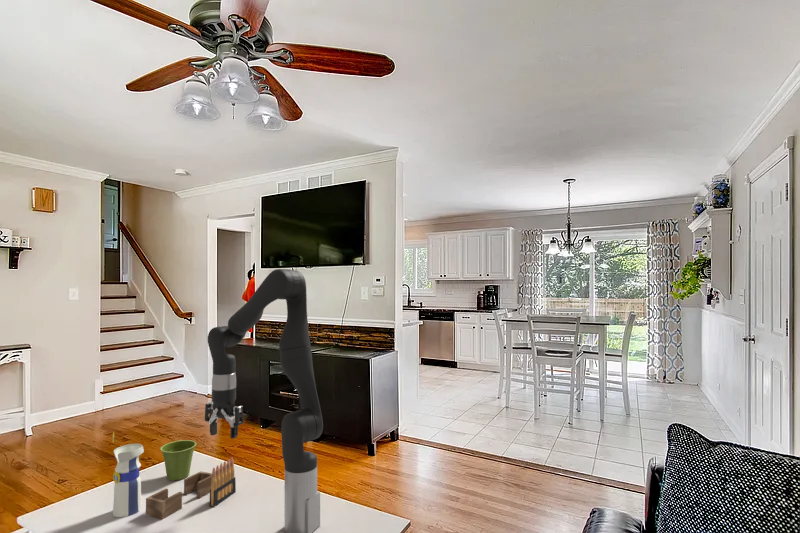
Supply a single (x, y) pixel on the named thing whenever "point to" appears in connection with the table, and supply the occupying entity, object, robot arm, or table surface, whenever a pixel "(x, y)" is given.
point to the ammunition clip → (222, 483)
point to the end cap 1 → (163, 504)
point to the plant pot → (178, 458)
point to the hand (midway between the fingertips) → (223, 436)
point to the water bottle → (127, 480)
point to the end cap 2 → (198, 484)
